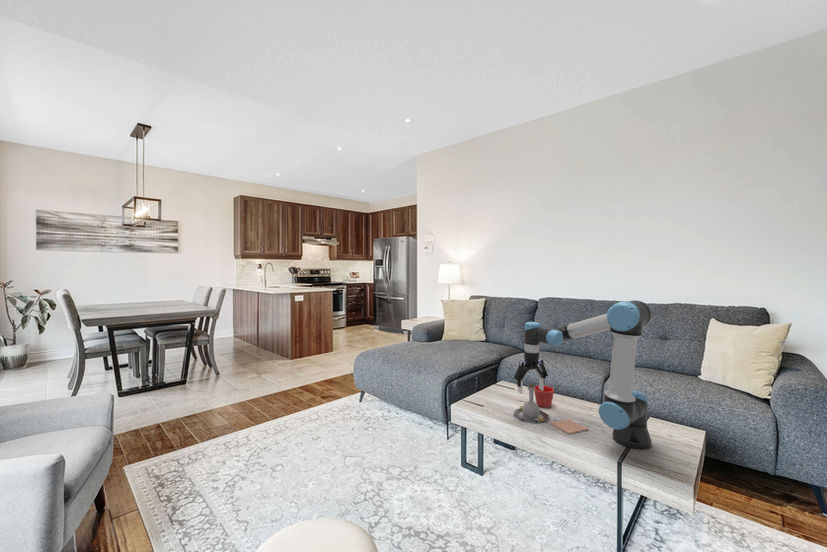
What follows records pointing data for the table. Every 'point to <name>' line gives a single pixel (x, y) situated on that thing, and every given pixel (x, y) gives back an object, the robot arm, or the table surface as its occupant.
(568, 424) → the coaster
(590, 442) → the table surface
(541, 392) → the flower pot
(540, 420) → the collar
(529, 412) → the potion bottle
